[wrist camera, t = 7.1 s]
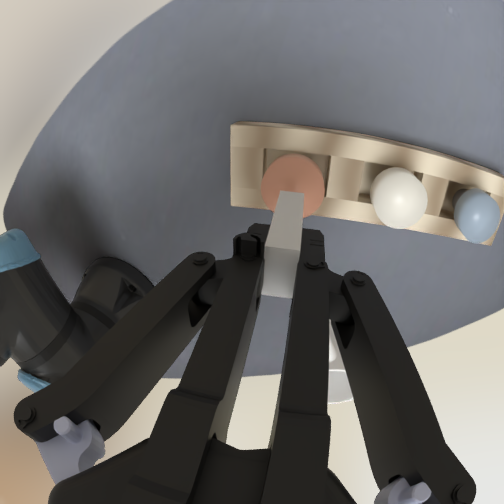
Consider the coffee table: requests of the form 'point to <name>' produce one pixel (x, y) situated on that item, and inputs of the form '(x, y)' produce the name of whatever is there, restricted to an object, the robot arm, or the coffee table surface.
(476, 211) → the slate ball
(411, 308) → the coffee table surface
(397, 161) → the three-ball wooden rack
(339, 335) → the robot arm
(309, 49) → the coffee table surface
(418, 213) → the cream rounded piece
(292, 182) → the terracotta ball
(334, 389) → the mug
